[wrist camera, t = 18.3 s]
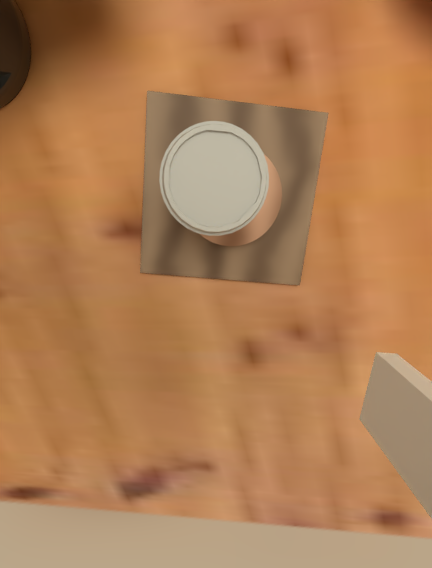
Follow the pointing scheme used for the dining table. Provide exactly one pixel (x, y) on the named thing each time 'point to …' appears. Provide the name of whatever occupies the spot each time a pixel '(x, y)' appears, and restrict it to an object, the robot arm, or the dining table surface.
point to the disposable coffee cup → (214, 178)
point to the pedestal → (273, 214)
